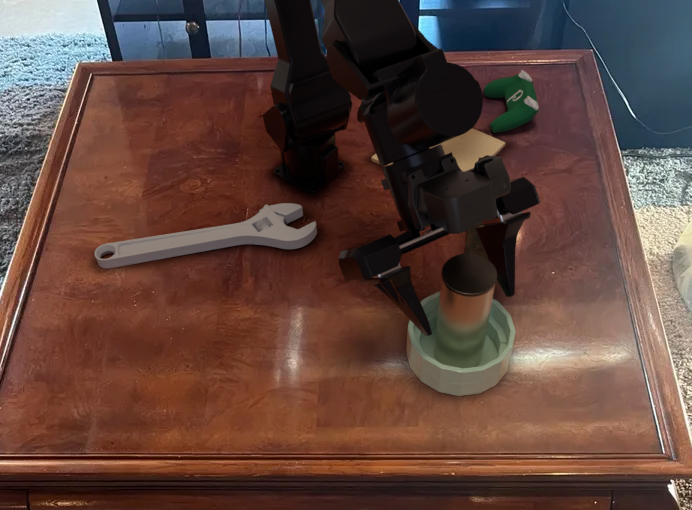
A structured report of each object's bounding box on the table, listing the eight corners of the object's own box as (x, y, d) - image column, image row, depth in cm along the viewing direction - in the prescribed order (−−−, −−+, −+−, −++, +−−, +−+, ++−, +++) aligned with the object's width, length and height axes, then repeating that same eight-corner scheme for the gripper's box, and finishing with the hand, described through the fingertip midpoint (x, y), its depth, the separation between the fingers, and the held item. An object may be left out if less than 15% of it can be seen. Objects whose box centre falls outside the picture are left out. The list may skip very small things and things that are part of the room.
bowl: (387, 364, 82) (387, 337, 78) (443, 302, 86) (446, 273, 83) (473, 416, 77) (478, 390, 74) (527, 347, 82) (534, 320, 79)
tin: (423, 357, 81) (430, 277, 72) (450, 326, 84) (461, 245, 74) (465, 381, 79) (478, 302, 70) (491, 349, 82) (507, 268, 72)
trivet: (370, 160, 101) (371, 157, 100) (425, 111, 106) (425, 107, 106) (452, 199, 96) (452, 195, 95) (505, 146, 101) (505, 142, 101)
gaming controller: (506, 147, 104) (545, 119, 100) (487, 130, 102) (527, 101, 98) (497, 102, 109) (534, 75, 106) (480, 86, 107) (517, 57, 104)
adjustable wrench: (97, 271, 91) (92, 261, 90) (101, 232, 95) (97, 221, 94) (316, 247, 92) (315, 236, 91) (311, 209, 96) (310, 197, 94)
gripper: (350, 180, 63) (421, 363, 65) (545, 101, 67) (603, 275, 70) (309, 197, 73) (371, 353, 76) (480, 128, 78) (533, 277, 81)
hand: (470, 315), depth 75 cm, fingers open, 9 cm apart
